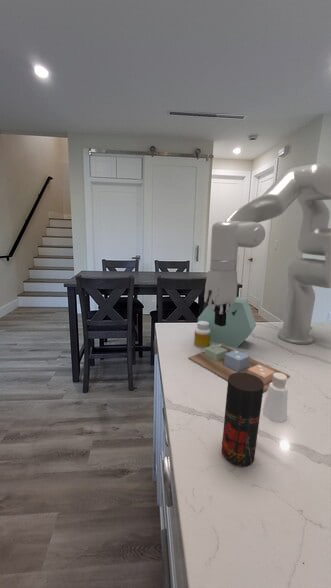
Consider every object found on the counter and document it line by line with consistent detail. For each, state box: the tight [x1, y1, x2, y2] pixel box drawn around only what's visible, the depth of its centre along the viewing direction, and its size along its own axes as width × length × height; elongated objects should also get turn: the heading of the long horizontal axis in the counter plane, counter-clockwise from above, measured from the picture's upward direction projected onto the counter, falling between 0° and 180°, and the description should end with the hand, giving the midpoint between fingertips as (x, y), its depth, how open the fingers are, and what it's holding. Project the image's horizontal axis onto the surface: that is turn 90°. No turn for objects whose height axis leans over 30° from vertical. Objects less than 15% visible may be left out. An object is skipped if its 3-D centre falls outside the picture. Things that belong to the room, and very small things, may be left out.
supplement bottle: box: [193, 320, 211, 349], centre depth 92 cm, size 5×5×10 cm
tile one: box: [203, 343, 228, 361], centre depth 84 cm, size 5×5×4 cm
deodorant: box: [221, 373, 264, 468], centre depth 48 cm, size 6×6×15 cm
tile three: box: [247, 364, 275, 386], centre depth 72 cm, size 5×5×4 cm
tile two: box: [224, 349, 251, 373], centre depth 78 cm, size 5×5×4 cm
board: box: [187, 344, 290, 394], centre depth 78 cm, size 16×24×2 cm, turn 38°
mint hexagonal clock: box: [197, 296, 257, 349], centre depth 96 cm, size 17×8×21 cm
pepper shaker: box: [262, 373, 289, 423], centre depth 58 cm, size 5×5×11 cm
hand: (220, 324), depth 82 cm, fingers closed
